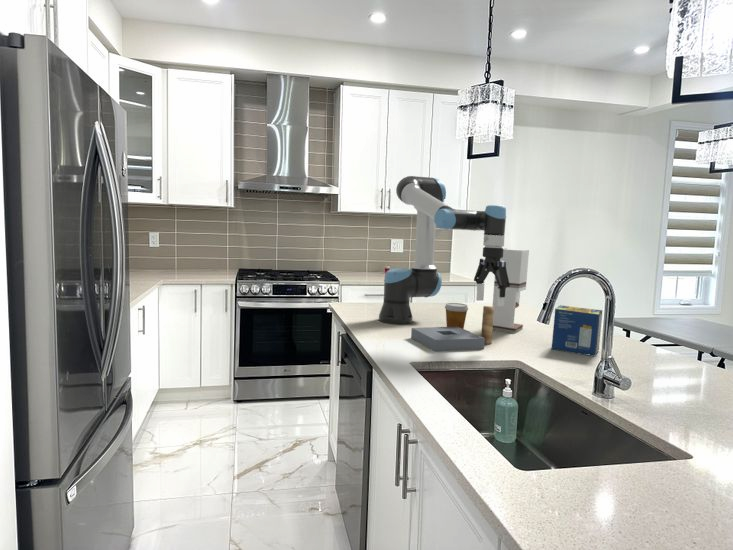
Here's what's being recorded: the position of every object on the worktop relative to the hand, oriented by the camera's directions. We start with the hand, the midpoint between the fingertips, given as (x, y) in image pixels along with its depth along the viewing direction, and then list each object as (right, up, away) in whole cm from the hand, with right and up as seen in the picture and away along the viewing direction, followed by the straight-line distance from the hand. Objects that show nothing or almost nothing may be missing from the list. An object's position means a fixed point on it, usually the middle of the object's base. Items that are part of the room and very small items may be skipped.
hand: (489, 303), depth 195 cm
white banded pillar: (+15, -13, +30) cm, 36 cm away
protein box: (+31, -18, -2) cm, 36 cm away
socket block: (-17, -15, -2) cm, 22 cm away
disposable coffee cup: (-10, -14, +16) cm, 24 cm away
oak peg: (-1, -15, +2) cm, 16 cm away
